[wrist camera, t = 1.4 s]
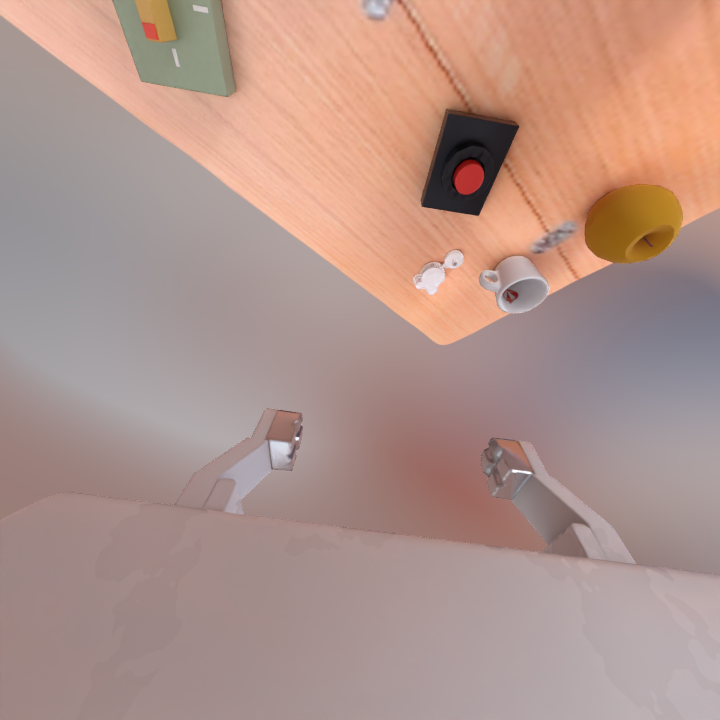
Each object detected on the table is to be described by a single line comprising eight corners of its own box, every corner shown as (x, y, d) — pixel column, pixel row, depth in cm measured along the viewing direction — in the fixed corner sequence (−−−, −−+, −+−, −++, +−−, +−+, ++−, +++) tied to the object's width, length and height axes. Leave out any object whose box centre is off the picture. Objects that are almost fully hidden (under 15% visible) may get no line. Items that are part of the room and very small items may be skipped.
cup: (466, 281, 55) (473, 308, 50) (485, 243, 49) (495, 271, 44) (518, 288, 56) (530, 316, 51) (544, 252, 50) (561, 280, 45)
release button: (459, 156, 36) (461, 161, 35) (486, 161, 37) (489, 166, 35) (449, 187, 39) (450, 192, 38) (474, 191, 39) (476, 196, 38)
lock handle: (141, -44, 26) (117, -48, 24) (156, -41, 26) (134, -45, 24) (164, 37, 30) (145, 40, 28) (177, 40, 30) (160, 43, 28)
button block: (446, 108, 35) (450, 117, 33) (514, 121, 36) (523, 130, 34) (420, 200, 44) (422, 212, 42) (476, 209, 45) (481, 221, 42)
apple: (667, 187, 41) (727, 228, 34) (599, 245, 48) (637, 288, 41) (620, 157, 38) (674, 194, 31) (556, 222, 45) (588, 264, 38)
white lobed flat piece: (449, 292, 58) (450, 299, 56) (407, 288, 58) (408, 295, 56) (465, 250, 50) (467, 257, 49) (417, 246, 50) (418, 253, 49)
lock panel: (86, -131, 25) (60, -142, 23) (203, -105, 25) (188, -114, 23) (154, 77, 35) (140, 81, 33) (236, 91, 35) (227, 97, 33)
